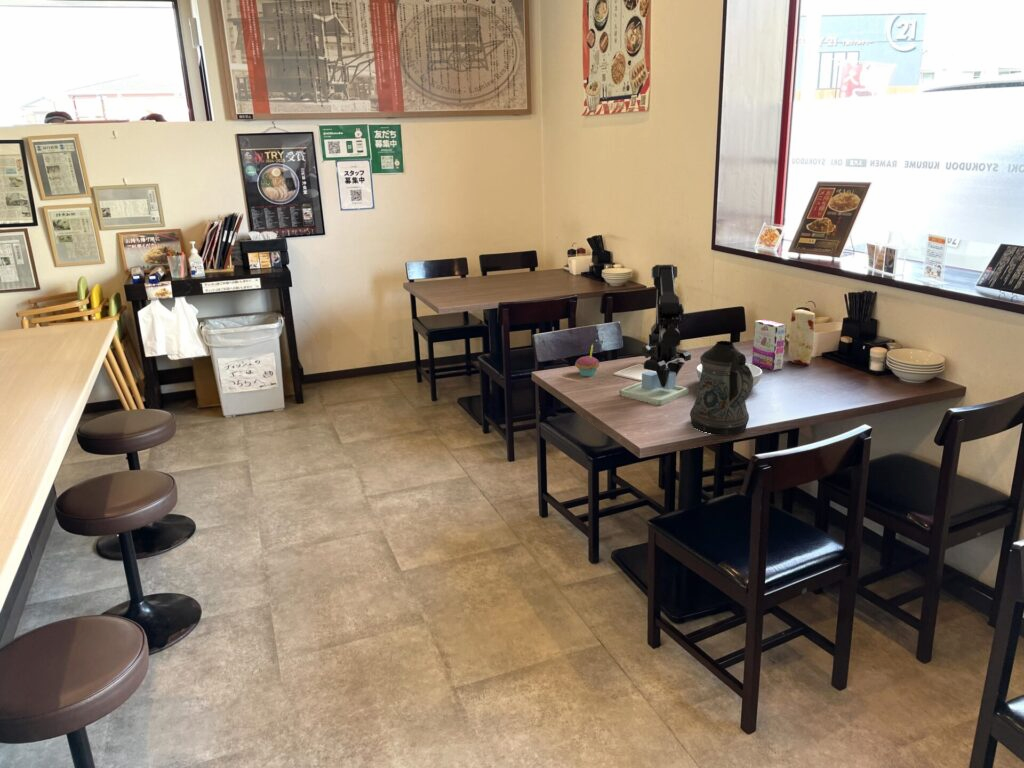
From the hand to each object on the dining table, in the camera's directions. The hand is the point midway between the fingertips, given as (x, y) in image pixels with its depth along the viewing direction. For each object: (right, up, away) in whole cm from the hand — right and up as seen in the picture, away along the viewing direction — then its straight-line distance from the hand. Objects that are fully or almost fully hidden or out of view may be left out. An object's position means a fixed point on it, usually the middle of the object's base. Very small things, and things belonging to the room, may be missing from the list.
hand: (666, 385), depth 245 cm
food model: (+55, +8, +29) cm, 62 cm away
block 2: (0, -1, 0) cm, 1 cm away
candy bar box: (+42, +7, +26) cm, 50 cm away
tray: (-4, -3, +1) cm, 5 cm away
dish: (-5, +4, +22) cm, 23 cm away
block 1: (-5, -1, +5) cm, 7 cm away
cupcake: (-24, +3, +23) cm, 33 cm away
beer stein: (+11, -12, -28) cm, 32 cm away
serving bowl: (+21, -1, +5) cm, 22 cm away
